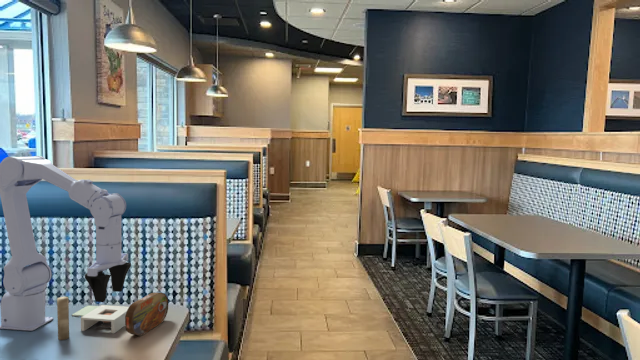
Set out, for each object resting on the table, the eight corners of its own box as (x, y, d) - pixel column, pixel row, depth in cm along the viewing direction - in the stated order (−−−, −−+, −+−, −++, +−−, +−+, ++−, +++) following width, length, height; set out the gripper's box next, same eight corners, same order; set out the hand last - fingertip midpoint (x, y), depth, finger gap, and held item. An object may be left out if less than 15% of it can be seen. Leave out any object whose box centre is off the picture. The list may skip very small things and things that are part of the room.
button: (100, 322, 117) (100, 316, 117) (106, 318, 119) (105, 312, 119) (109, 322, 116) (109, 317, 116) (115, 319, 119) (115, 313, 119)
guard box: (81, 330, 114) (80, 317, 114) (101, 317, 123) (101, 304, 123) (114, 333, 113) (114, 319, 113) (132, 319, 122) (132, 307, 122)
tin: (133, 341, 109) (133, 307, 108) (122, 339, 110) (122, 306, 109) (169, 318, 124) (169, 288, 123) (159, 316, 124) (159, 287, 124)
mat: (71, 316, 123) (71, 314, 123) (87, 306, 130) (87, 305, 130) (95, 317, 123) (95, 316, 123) (110, 308, 130) (110, 307, 130)
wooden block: (55, 339, 109) (54, 299, 108) (62, 335, 111) (61, 296, 110) (64, 340, 108) (64, 300, 108) (71, 336, 111) (70, 297, 110)
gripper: (107, 250, 103) (107, 307, 104) (138, 237, 118) (138, 288, 119) (78, 249, 104) (79, 305, 105) (113, 236, 118) (113, 286, 120)
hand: (109, 296), depth 112 cm, fingers open, 7 cm apart
